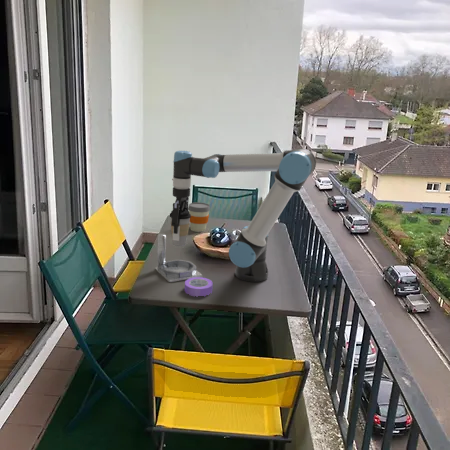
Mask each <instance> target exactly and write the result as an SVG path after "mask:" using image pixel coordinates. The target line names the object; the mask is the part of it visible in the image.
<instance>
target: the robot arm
mask: <svg viewBox="0 0 450 450" xmlns="http://www.w3.org/2000/svg"><path fill="white" fill-rule="evenodd" d="M316 159H317V158H316V156H315V155H314V153H313V152H312V151H310V150H308V149H306V148H296V149H290V150H287V149H286V150H283V151H282V152H276V153H275V152H274V153H273V152H271V153H270V152H269V153H242V154H240V153H239V154H220V153H217V154H212V155H211V156H210V155H209V156H207V157H203V158H202V157H193V153H192V152H191V151H190V150H189V151H188V150H177V151H175V152H174V155H173V161H172V163H173V175H172V179H171V180H172V186H173V187H172V196H173V197H175V202H173V204H172V210H173V213H172V223H171V222H170V227H171V226H173V240H176V241H179V235H180V226H179V223H180V214H181V212H182V211H186V210H187V211H189V202H190V201H189V200H190V199H189V198H190V196H191V183H192V182H191V181H192V179H191V178H192V176H196V177H202V178H208V179H209V178H211V179H215V178H217V177H218V175H219V173H238V172H239V173H240V172H241V173H242V172H243V173H246V172H247V173H248V172H250V173H252V172H253V173H254V172H257V173H258V172H275V173H274V180H275V181H274V183H273V184H272V186H271V187H270V189H269V192H268V193H267V194H266V197H265V198H264V199H263V201H262V203H261V204H260V206H259V208H258V210H257V211H256V213H255V215H254V216H253V217H252V219H251V221H250V223H249V225H246V226H243V228H242V229H241V231H240V233H239V234H238V236H237V238H236V239H235V240H234V242H232V243H231V245H230V246H229V249H228V256H229V259H230V261H231V262H232V263H233V264H234V265H235V266H236V267H235V271H234V275H235V277H236V278H238V279H240V280H241V281H245V282H250V283H252V282H253V283H255V282H257V283H258V282H264V281H266V280H268V278H269V269H268V265H267V261H266V259H267V251H268V241H269V234H270V231H271V230H272V229H273V226H274V225H275V224H276V223H277V222H276V221H278V218H279V217H280V216H281V214H282V212H283V211H284V209H285V207H286V206H287V205H288V202H289V201H290V200H291V198H292V196H293V195H294V193H296V192H300V190H301V189H302V187H303V186H304V184H305V183H306V182H307V180H308V178H309V176H310V175H312V174H313V173H314V171H315V169H316V166H317V160H316Z"/></svg>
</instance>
